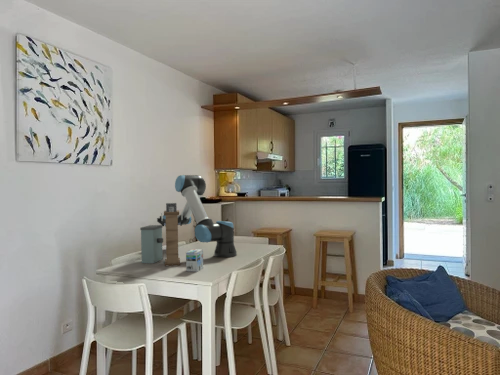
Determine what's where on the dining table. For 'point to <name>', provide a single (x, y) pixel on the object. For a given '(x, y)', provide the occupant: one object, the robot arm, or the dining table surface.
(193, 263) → the light bulb box
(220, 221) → the robot arm
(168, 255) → the tall stand
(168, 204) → the crank handle
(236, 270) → the dining table surface
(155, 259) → the blue lidded container
